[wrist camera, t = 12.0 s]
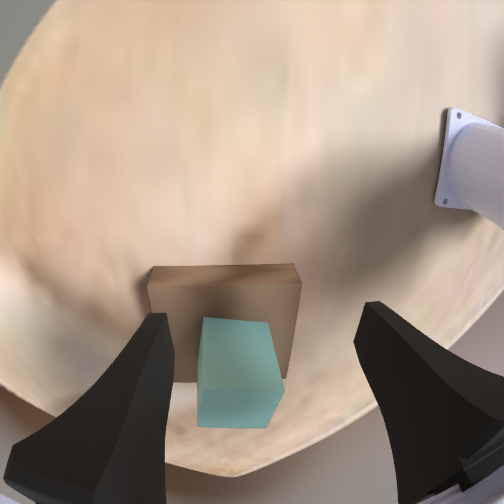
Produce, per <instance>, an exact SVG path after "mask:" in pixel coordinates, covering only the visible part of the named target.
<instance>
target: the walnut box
mask: <svg viewBox="0 0 504 504" xmlns="http://www.w3.org/2000/svg"><path fill="white" fill-rule="evenodd" d="M301 286H302V282H301V280H300V278H299V275H298V273H297V270H296V268H295V266H294V264H261V265H213V266H154V267H153V270H152V273H151V275H150V278H149V281H148V284H147V291H148V296H149V301H150V306H151V311H152V313H167V318H168V323H169V328H170V333H171V337H172V342H173V347H174V351H175V363H174V380H173V382H197V373H198V354H199V346H200V338H201V331H202V323H203V317H209V318H220V319H230V320H242V321H255V322H268V325H269V329H270V333H271V337H272V341H273V345H274V349H275V353H276V357H277V361H278V365H279V369H280V373H281V377H282V379H285V378H286V375H287V370H288V365H289V359H290V354H291V348H292V342H293V337H294V331H295V325H296V319H297V312H298V306H299V299H300V293H301Z"/></svg>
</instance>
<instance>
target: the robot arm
mask: <svg viewBox="0 0 504 504" xmlns="http://www.w3.org/2000/svg"><path fill="white" fill-rule="evenodd" d="M457 113H458V117H457ZM444 199H445V201H444ZM443 201H444V202H443ZM434 203H435V204H436V205H437V206H439V207H446V208H457V209H466V210H474V211H476V212H477V213H479V214H480V215H482V216H484V217H485V218H487V219H488V220H490V221H491V222H493V223H494V224H496V225H497V226H499V227H500V228H502V229H503V230H504V128H502V127H500V126H498V125H496V124H494V123H491V122H489V121H487V120H485V119H482V118H480V117H477V116H475V115H473V114H470V113H468V112H465V111H462V110H460V109H457V108H453V107H450V108H449V109H448V114H447V124H446V133H445V141H444V148H443V155H442V161H441V167H440V173H439V179H438V184H437V189H436V194H435V199H434ZM353 342H354V345H355V349H356V352H357V356H358V359H359V362H360V365H361V367H362V369H363V372H364V374H365V376H366V378H367V381H368V383H369V385H370V387H371V389H372V392H373V394H374V396H375V398H376V401H377V403H378V405H379V407H380V410H381V413H382V415H383V418H384V422H385V425H386V429H387V432H388V436H389V440H390V445H391V449H392V453H393V459H394V465H395V471H396V479H397V490H398V503H399V504H418V503H419V504H504V377H503V376H500V375H497V374H494V373H492V372H489V371H487V370H484V369H482V368H480V367H478V366H476V365H474V364H471V363H469V362H468V361H465V360H464V359H462V358H460V357H458V356H457V355H455V354H453V353H452V352H450V351H448V350H447V349H445V348H443V347H442V346H440V345H439V344H438V343H436V342H435V341H433V340H432V339H430V338H429V337H427V336H426V335H425V334H423V333H422V332H421V331H419V330H418V329H416V328H415V327H414V326H412V325H411V324H410V323H409V322H407V321H406V320H405V319H403V318H402V317H401V316H399V315H398V314H397V313H395V312H394V311H393V310H391V309H390V308H389V307H387V306H386V305H384V304H383V303H381V302H380V301H375V302H365V306H364V309H363V312H362V316H361V319H360V322H359V326H358V329H357V332H356V335H355V338H354V341H353ZM174 363H175V351H174V347H173V342H172V337H171V333H170V328H169V323H168V318H167V313H149V314H148V315H147V317H146V318H145V319H144V321H143V322H142V324H141V325H140V327H139V328H138V330H137V331H136V332H135V334H134V335H133V337H132V338H131V339H130V341H129V342H128V343H127V345H126V346H125V347H124V349H123V350H122V351H121V353H120V354H119V355H118V357H117V358H116V359H115V360H114V362H113V363H112V364H111V365H110V366H109V368H108V369H107V370H106V371H105V372H104V374H103V375H102V376H101V377H100V378H99V379H98V380H97V381H96V383H95V384H94V385H93V386H92V387H91V388H90V389H89V390H88V391H87V392H86V393H85V394H84V395H83V396H82V397H80V398H79V399H78V400H77V401H76V402H75V403H74V404H73V405H72V406H70V407H69V408H68V409H67V410H66V411H65V412H63V413H62V414H61V415H60V416H58V417H57V418H56V419H54V420H53V421H52V422H50V423H49V424H47V425H46V426H45V427H43V428H42V429H40V430H39V431H37V432H35V433H34V434H32V435H30V436H29V437H27V438H25V439H24V440H22V441H20V442H18V443H16V444H14V445H13V446H12V449H11V452H10V456H9V459H8V462H7V466H6V470H5V474H4V477H3V479H4V481H5V483H6V484H7V485H9V486H10V487H11V488H13V489H14V490H16V491H18V492H19V493H21V494H23V495H24V496H26V497H27V498H29V499H31V500H33V501H34V502H36V504H166V490H165V433H166V425H167V418H168V411H169V405H170V399H171V392H172V386H173V380H174ZM434 495H435V496H434ZM432 496H433V497H432ZM430 497H431V498H430ZM428 498H429V499H428ZM426 499H427V500H426ZM424 500H425V501H424ZM422 501H423V502H422ZM420 502H421V503H420ZM0 504H24V503H22V502H19V501H17V500H15V499H13V498H11V497H9V496H7V495H5V494H3V493H1V494H0Z"/></svg>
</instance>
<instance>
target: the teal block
mask: <svg viewBox="0 0 504 504" xmlns="http://www.w3.org/2000/svg"><path fill="white" fill-rule="evenodd" d="M284 391H285V389H284V385H283V381H282V377H281V373H280V369H279V365H278V361H277V357H276V353H275V349H274V345H273V341H272V337H271V333H270V329H269V325H268V322H255V321H242V320H230V319H220V318H209V317H203V323H202V331H201V338H200V346H199V354H198V373H197V420H198V427H213V428H266V427H267V425H268V423H269V421H270V419H271V417H272V415H273V413H274V411H275V409H276V407H277V405H278V403H279V401H280V399H281V397H282V395H283V393H284Z"/></svg>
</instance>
